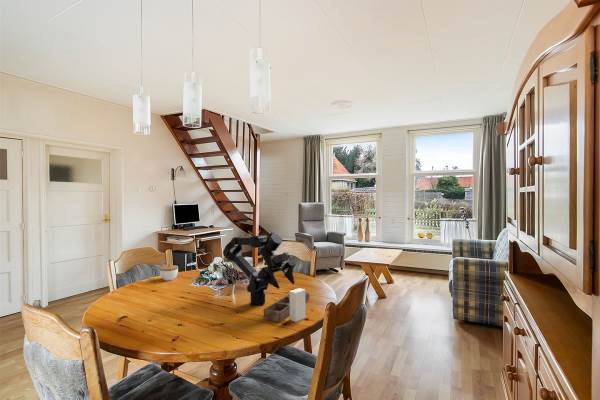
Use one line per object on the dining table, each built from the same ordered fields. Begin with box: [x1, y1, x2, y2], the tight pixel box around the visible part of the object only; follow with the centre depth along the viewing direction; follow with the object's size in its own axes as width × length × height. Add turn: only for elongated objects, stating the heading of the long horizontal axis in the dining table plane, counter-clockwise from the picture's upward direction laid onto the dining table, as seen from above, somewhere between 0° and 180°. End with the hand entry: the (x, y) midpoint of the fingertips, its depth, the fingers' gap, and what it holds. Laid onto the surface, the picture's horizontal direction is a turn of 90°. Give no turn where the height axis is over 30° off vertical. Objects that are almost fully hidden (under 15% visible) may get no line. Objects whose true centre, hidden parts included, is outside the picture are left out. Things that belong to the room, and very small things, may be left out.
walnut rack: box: [263, 291, 310, 323], centre depth 139 cm, size 8×29×4 cm, turn 154°
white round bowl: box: [159, 264, 179, 282], centre depth 189 cm, size 11×11×9 cm
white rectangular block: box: [289, 287, 306, 323], centre depth 128 cm, size 4×6×12 cm, turn 137°
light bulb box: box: [234, 256, 254, 272], centre depth 201 cm, size 11×7×11 cm, turn 141°
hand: (286, 285), depth 132 cm, fingers open, 9 cm apart
